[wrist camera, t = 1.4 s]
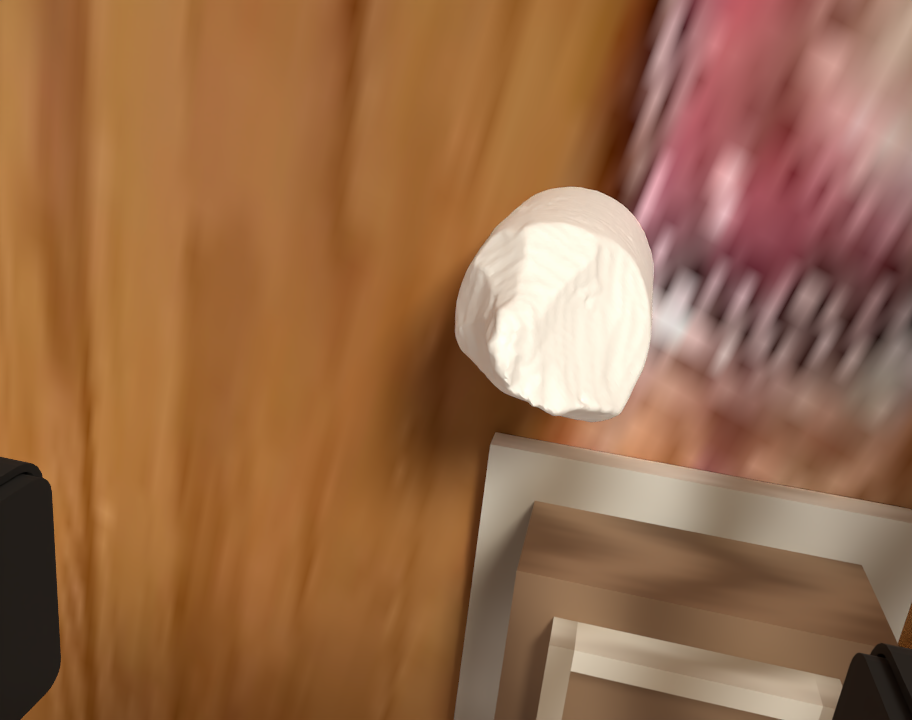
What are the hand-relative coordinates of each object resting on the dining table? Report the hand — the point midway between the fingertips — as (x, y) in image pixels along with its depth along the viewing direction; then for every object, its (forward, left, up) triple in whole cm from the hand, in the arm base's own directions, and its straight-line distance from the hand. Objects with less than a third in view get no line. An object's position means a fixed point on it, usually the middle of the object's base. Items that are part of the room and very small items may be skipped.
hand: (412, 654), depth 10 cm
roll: (0, 0, -23) cm, 23 cm away
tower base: (-6, +15, -22) cm, 28 cm away
